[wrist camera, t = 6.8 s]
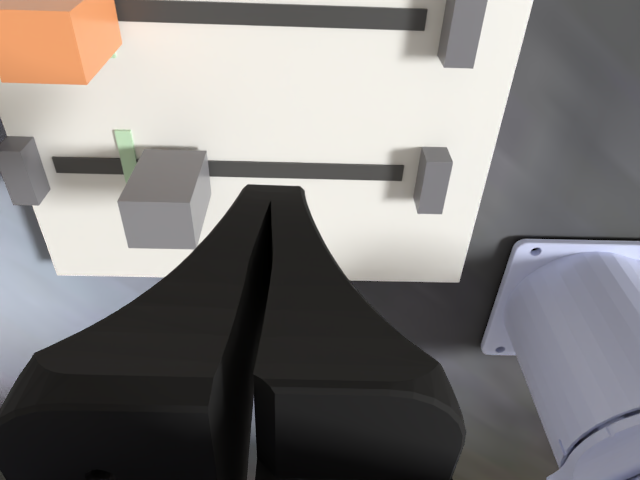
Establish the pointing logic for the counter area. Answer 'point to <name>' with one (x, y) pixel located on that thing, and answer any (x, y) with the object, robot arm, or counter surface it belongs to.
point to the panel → (278, 125)
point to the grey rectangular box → (166, 199)
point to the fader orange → (56, 40)
